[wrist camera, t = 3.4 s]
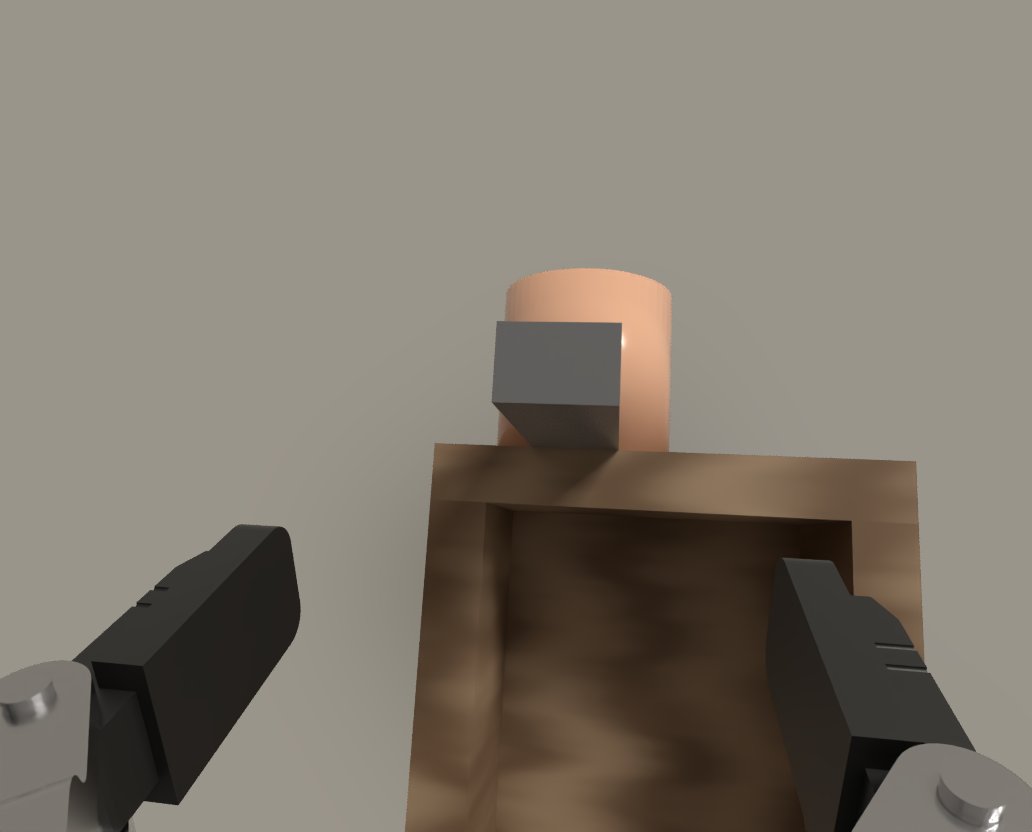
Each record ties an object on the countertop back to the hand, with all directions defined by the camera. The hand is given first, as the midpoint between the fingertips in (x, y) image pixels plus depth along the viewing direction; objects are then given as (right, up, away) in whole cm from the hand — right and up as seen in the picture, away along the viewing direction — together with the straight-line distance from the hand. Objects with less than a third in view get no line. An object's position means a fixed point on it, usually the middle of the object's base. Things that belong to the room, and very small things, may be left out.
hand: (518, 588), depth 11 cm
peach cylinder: (+2, +2, +13) cm, 13 cm away
